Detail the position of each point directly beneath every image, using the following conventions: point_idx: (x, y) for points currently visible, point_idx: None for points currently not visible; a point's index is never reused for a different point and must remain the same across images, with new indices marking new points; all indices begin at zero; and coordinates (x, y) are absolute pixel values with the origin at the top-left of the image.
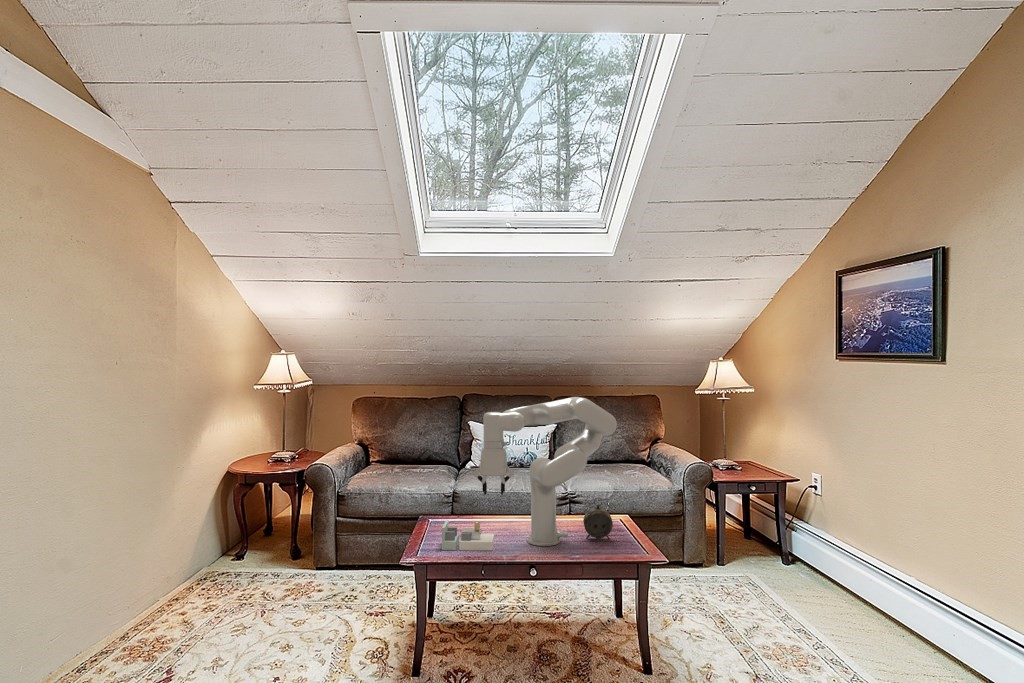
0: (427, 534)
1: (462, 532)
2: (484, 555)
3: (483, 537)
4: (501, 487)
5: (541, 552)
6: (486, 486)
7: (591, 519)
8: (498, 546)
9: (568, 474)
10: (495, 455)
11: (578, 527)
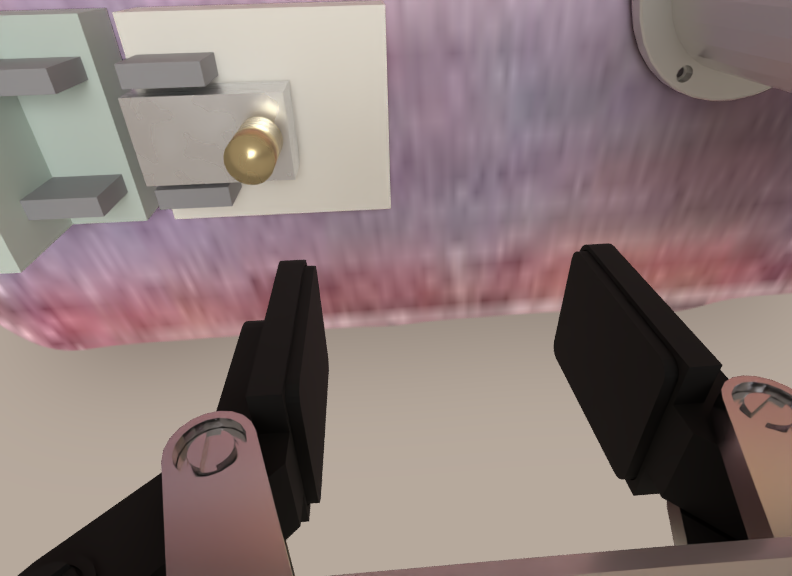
0: None
1: (157, 185)
2: (355, 264)
3: (314, 111)
4: (605, 436)
5: (660, 200)
6: (312, 384)
7: None
8: (420, 107)
9: None
10: None
11: None
